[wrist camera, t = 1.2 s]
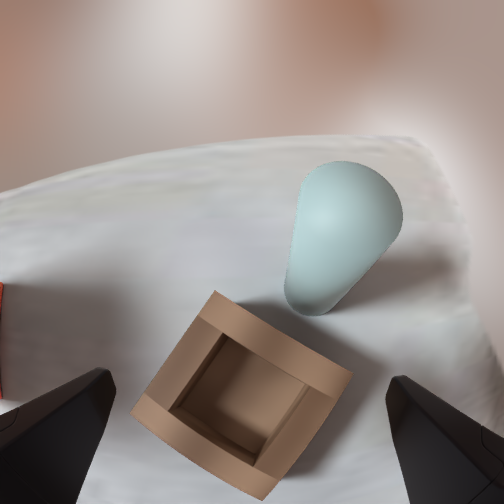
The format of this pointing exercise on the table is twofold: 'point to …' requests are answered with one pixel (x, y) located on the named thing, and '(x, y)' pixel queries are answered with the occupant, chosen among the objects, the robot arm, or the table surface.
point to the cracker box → (0, 289)
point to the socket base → (240, 397)
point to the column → (338, 233)
